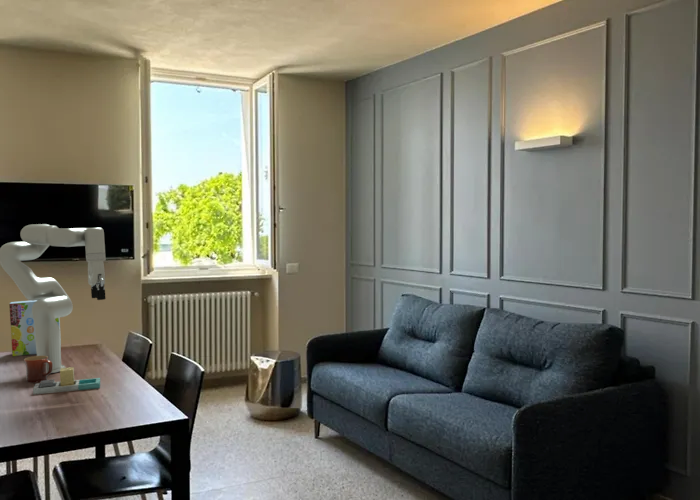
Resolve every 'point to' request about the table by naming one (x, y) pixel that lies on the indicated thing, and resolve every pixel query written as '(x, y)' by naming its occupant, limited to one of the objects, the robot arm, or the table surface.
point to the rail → (68, 386)
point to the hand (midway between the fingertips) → (98, 298)
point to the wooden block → (67, 376)
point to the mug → (37, 368)
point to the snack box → (23, 328)
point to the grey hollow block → (47, 383)
